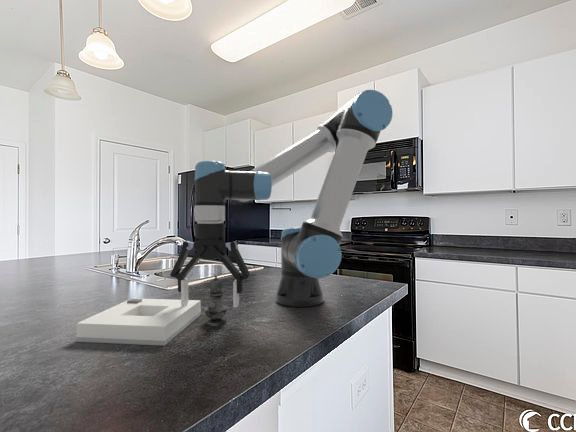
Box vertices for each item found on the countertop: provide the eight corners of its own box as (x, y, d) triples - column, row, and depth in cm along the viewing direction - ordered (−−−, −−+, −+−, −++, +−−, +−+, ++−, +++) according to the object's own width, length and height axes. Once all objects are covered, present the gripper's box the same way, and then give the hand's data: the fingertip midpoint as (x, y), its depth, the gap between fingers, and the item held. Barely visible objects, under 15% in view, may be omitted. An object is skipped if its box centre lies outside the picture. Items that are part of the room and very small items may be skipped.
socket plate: (200, 314, 85) (200, 298, 85) (164, 345, 66) (164, 323, 66) (131, 312, 88) (131, 296, 87) (76, 341, 68) (76, 320, 68)
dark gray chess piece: (222, 327, 76) (221, 278, 76) (199, 325, 78) (199, 277, 78) (231, 319, 82) (231, 273, 82) (210, 317, 83) (210, 272, 83)
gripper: (260, 222, 82) (260, 302, 82) (170, 222, 85) (170, 299, 85) (255, 223, 75) (255, 311, 75) (156, 222, 77) (156, 308, 78)
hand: (210, 305), depth 80 cm, fingers open, 13 cm apart
